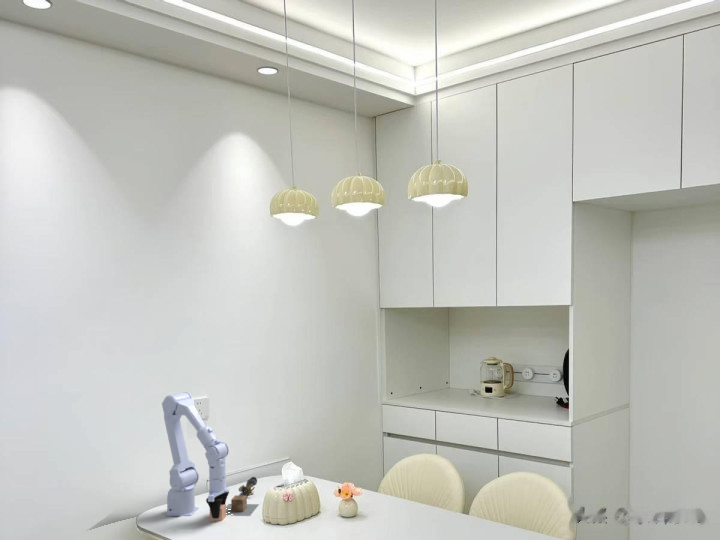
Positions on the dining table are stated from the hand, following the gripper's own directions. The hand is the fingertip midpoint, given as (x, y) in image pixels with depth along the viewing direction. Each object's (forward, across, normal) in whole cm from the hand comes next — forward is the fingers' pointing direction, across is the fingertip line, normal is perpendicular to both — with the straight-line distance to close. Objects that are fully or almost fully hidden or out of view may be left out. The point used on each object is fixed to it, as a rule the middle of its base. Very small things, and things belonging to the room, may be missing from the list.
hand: (218, 515), depth 219 cm
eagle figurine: (+2, +26, -3) cm, 27 cm away
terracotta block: (+1, 0, 0) cm, 1 cm away
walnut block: (+1, +9, -5) cm, 10 cm away
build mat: (+1, +9, -5) cm, 10 cm away
